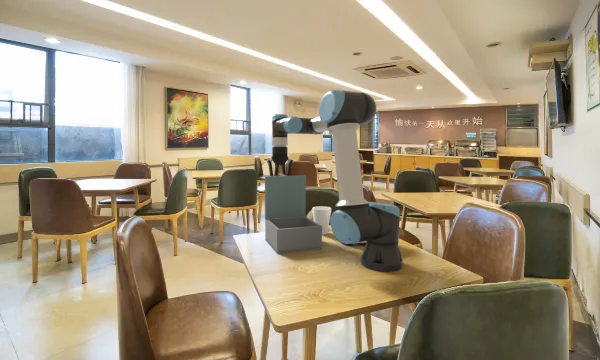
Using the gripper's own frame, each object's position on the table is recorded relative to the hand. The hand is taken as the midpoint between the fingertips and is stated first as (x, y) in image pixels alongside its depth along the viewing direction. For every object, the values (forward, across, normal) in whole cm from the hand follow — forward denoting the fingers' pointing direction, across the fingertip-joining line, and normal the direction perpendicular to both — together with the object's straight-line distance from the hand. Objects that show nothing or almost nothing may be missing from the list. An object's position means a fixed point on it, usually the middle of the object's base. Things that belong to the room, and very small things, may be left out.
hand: (279, 193), depth 162 cm
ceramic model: (+21, -21, -8) cm, 31 cm away
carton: (+20, 0, +20) cm, 28 cm away
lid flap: (0, 0, +10) cm, 10 cm away
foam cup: (+21, -20, +7) cm, 30 cm away
